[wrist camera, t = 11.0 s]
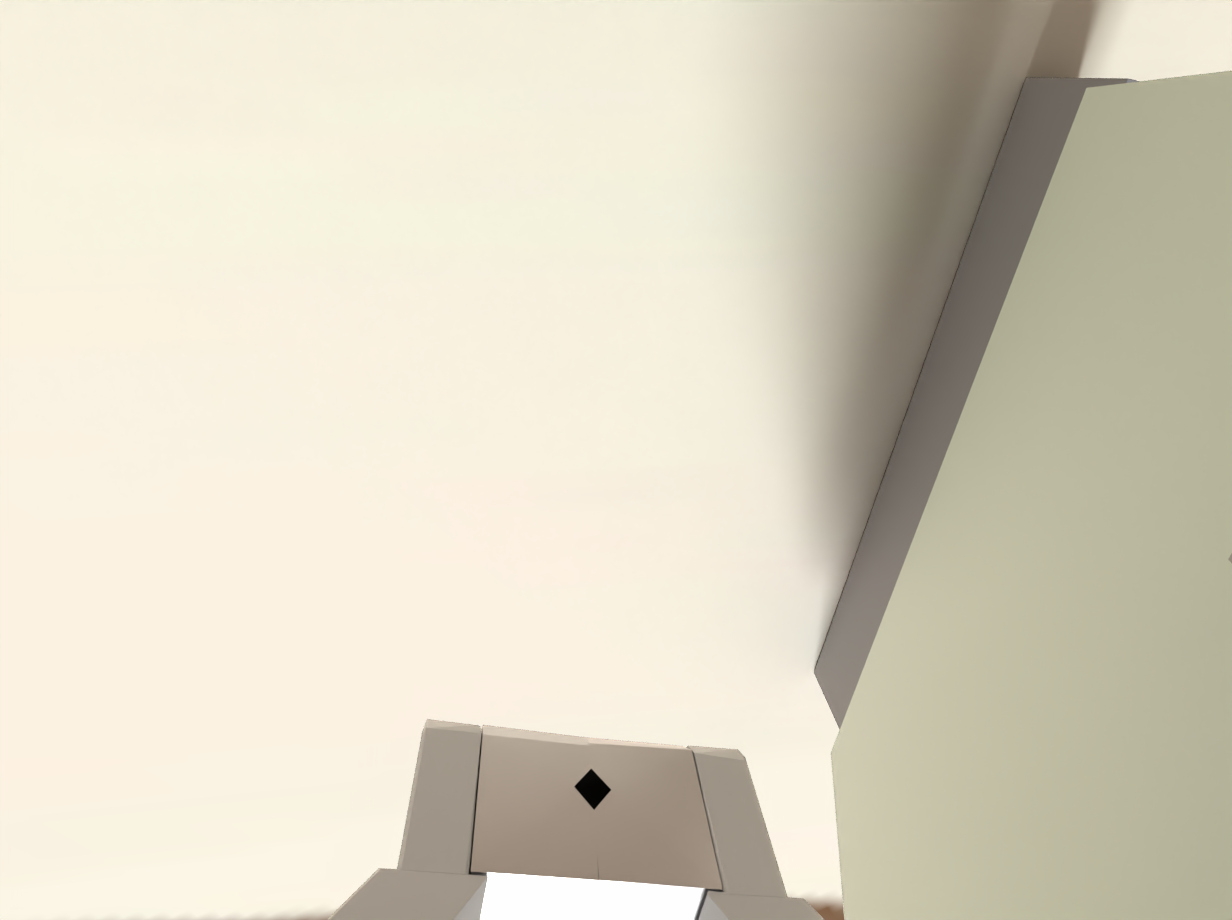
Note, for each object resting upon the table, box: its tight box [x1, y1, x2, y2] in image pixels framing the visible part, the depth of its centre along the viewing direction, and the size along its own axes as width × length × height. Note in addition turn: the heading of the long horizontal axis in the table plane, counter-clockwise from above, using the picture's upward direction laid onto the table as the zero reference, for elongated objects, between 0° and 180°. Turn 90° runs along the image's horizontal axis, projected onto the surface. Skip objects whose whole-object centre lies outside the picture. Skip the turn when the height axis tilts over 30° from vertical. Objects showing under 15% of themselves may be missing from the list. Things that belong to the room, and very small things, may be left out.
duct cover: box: [831, 71, 1232, 920], centre depth 12 cm, size 12×15×1 cm
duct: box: [814, 78, 1140, 729], centre depth 21 cm, size 13×16×4 cm
